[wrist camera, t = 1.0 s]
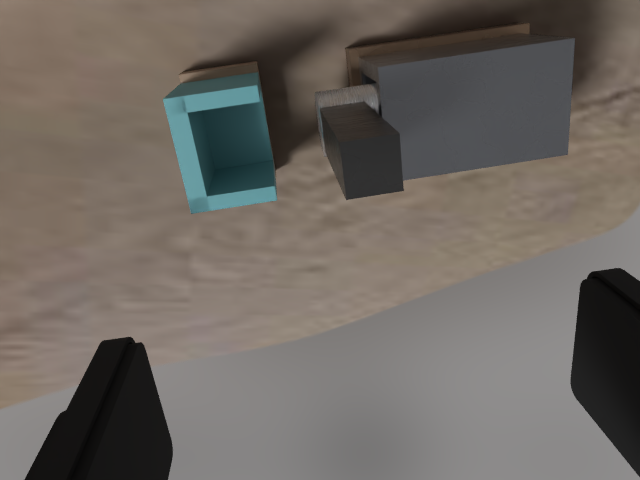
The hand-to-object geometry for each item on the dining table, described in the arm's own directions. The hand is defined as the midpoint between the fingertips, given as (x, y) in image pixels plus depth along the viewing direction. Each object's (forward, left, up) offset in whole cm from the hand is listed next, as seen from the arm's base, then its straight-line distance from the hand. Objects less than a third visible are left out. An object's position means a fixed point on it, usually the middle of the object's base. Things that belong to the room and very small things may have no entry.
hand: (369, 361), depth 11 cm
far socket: (-1, -4, -25) cm, 26 cm away
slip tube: (-1, +7, -23) cm, 23 cm away
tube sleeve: (-1, +9, -25) cm, 27 cm away
